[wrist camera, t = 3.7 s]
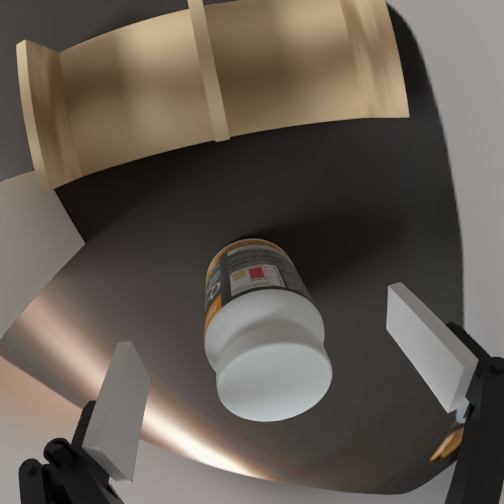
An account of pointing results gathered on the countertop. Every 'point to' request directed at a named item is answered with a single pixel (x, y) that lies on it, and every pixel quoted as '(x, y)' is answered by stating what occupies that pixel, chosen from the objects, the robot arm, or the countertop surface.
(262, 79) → the rack
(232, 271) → the pill bottle
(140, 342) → the countertop surface
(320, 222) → the countertop surface
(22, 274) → the milk
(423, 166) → the countertop surface
